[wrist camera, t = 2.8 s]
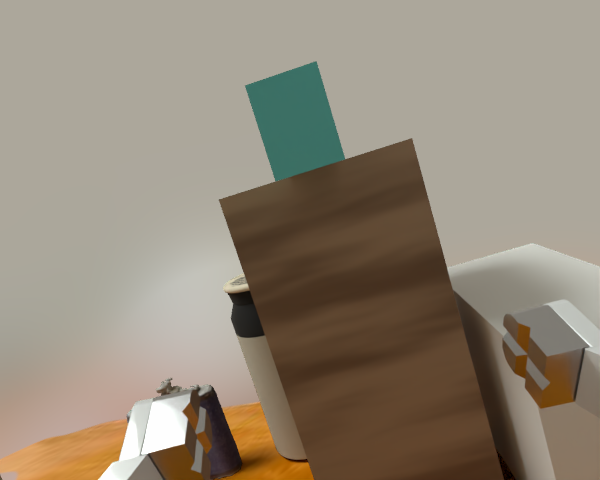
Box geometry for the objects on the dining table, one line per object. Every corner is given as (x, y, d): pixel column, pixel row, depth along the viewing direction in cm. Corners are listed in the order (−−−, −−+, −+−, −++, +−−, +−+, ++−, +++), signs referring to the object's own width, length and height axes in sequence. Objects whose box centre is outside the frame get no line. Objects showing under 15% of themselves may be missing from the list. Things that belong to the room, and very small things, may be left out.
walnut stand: (514, 519, 29) (412, 138, 25) (341, 559, 30) (218, 199, 26) (465, 430, 39) (386, 146, 35) (336, 462, 40) (246, 191, 36)
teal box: (345, 159, 18) (316, 61, 17) (275, 181, 18) (244, 85, 18) (332, 163, 38) (319, 117, 37) (299, 174, 38) (285, 129, 37)
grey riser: (755, 550, 23) (711, 306, 21) (582, 586, 24) (524, 355, 22) (566, 383, 41) (532, 243, 39) (471, 408, 42) (433, 271, 40)
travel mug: (360, 442, 42) (304, 266, 39) (282, 474, 41) (219, 296, 38) (339, 403, 50) (291, 255, 47) (273, 430, 49) (220, 279, 46)
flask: (153, 499, 43) (114, 402, 42) (162, 478, 46) (126, 387, 45) (241, 474, 43) (205, 375, 41) (245, 455, 46) (212, 362, 44)
